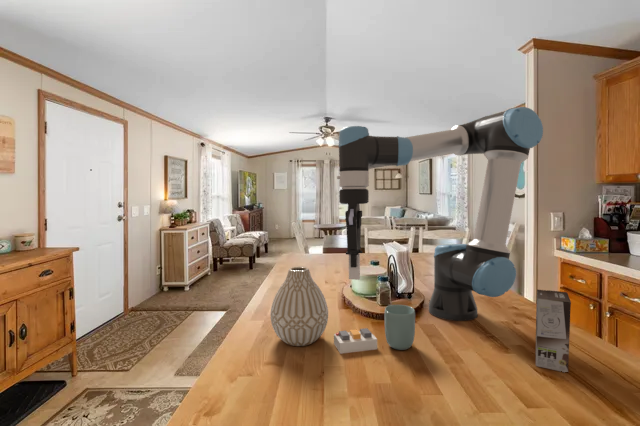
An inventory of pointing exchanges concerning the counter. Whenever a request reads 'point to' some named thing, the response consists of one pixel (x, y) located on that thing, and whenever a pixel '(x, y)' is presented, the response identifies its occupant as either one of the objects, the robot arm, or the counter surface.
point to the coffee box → (552, 329)
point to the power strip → (355, 341)
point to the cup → (399, 326)
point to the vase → (299, 309)
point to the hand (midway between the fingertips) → (354, 278)
